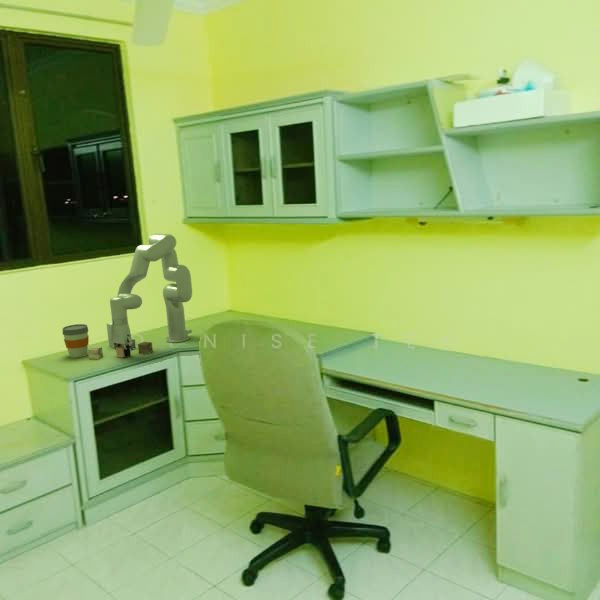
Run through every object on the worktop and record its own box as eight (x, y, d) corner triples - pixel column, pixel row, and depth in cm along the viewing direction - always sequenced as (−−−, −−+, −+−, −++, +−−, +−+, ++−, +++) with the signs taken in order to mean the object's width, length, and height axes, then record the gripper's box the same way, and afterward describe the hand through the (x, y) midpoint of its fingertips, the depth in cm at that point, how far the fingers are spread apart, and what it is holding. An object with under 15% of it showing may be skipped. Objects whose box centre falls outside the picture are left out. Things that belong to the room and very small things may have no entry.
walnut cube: (145, 350, 314) (144, 341, 313) (152, 351, 312) (151, 342, 311) (138, 353, 309) (137, 344, 308) (146, 354, 307) (145, 344, 306)
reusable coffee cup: (76, 359, 303) (72, 331, 300) (60, 356, 310) (56, 328, 307) (96, 352, 314) (92, 325, 311) (80, 350, 320) (77, 323, 317)
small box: (114, 348, 320) (111, 325, 318) (108, 346, 325) (106, 323, 322) (128, 345, 326) (125, 322, 323) (122, 343, 330) (119, 320, 328)
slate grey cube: (131, 346, 322) (130, 337, 321) (135, 348, 319) (134, 339, 318) (122, 348, 319) (121, 339, 318) (127, 350, 316) (125, 341, 315)
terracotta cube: (124, 354, 308) (123, 345, 307) (131, 355, 306) (130, 346, 305) (116, 357, 304) (115, 347, 303) (123, 358, 302) (122, 348, 301)
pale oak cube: (93, 356, 308) (92, 346, 307) (102, 356, 307) (101, 346, 306) (89, 359, 303) (87, 349, 302) (98, 359, 303) (97, 349, 302)
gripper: (103, 321, 303) (107, 355, 307) (125, 324, 294) (129, 359, 297) (115, 317, 309) (118, 351, 313) (137, 321, 300) (140, 355, 303)
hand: (123, 355), depth 305 cm, fingers closed on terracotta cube, 5 cm apart
